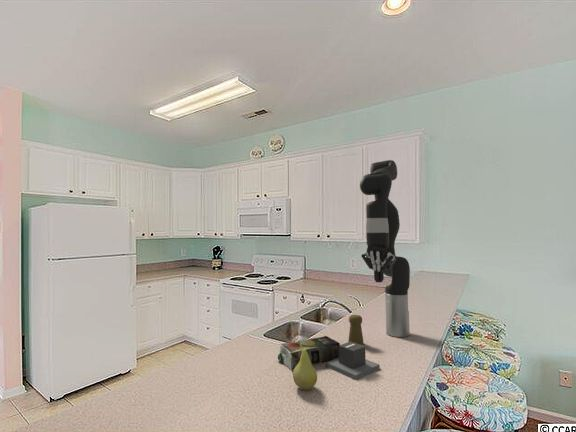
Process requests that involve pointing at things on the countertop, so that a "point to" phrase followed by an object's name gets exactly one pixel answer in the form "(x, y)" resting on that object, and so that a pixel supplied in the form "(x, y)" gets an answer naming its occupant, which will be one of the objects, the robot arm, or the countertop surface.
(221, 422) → the countertop surface
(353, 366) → the knob
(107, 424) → the countertop surface
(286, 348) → the juice carton
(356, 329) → the cork
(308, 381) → the fruit
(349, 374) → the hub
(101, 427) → the countertop surface
